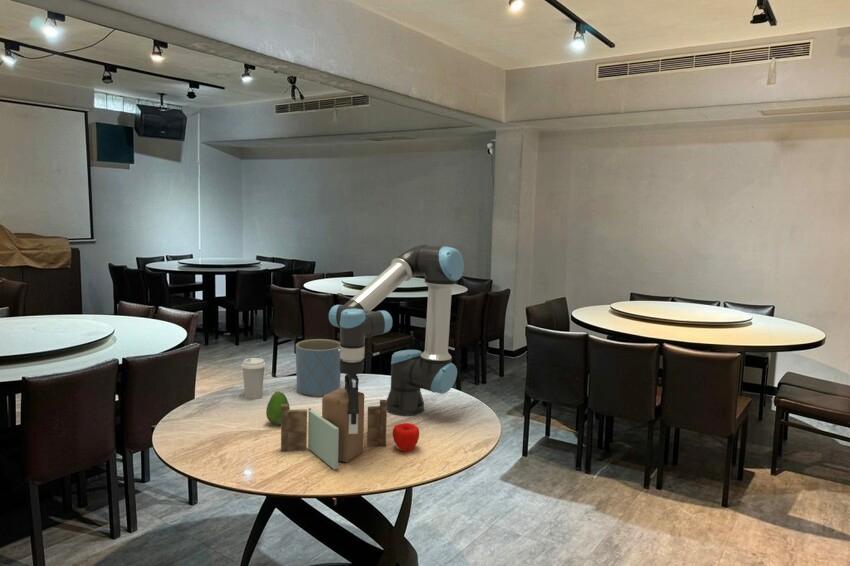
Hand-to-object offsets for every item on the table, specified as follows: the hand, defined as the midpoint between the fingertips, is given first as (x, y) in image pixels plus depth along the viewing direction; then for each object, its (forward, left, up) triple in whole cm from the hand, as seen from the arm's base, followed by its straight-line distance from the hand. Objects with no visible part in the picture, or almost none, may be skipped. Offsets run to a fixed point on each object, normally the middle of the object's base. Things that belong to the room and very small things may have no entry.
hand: (350, 425), depth 182 cm
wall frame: (+4, -6, -10) cm, 12 cm away
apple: (-18, -2, -10) cm, 21 cm away
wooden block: (+2, 0, -10) cm, 10 cm away
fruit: (+23, -29, -10) cm, 38 cm away
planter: (+7, -64, -10) cm, 65 cm away
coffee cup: (+33, -59, -10) cm, 68 cm away
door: (+9, +2, -9) cm, 13 cm away
